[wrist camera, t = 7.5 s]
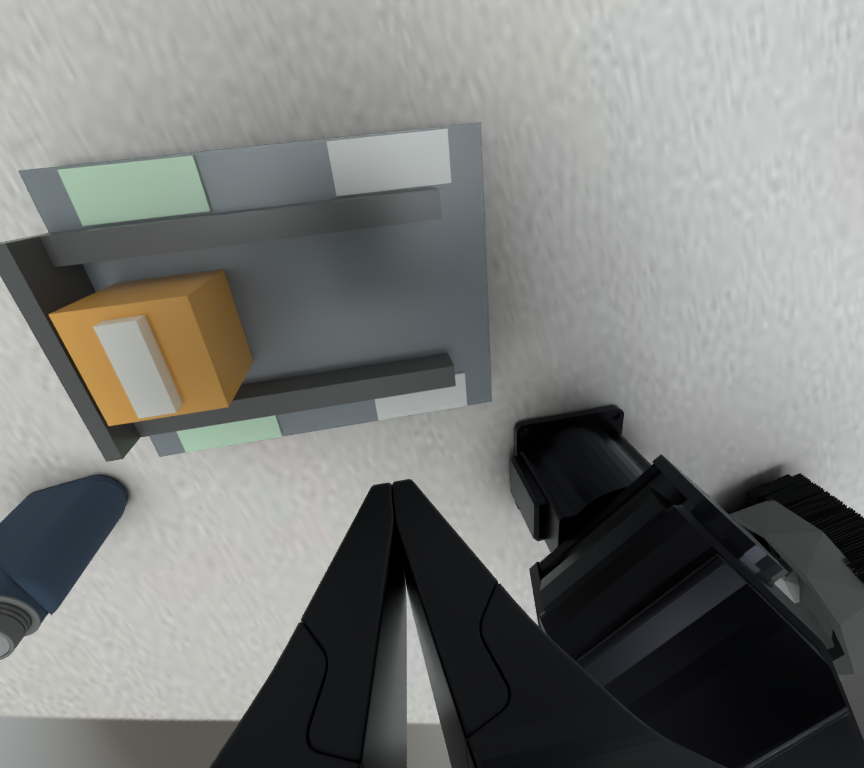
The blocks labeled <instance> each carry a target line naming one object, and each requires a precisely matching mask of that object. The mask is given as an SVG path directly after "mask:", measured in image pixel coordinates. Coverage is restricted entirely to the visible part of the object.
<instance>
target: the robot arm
mask: <svg viewBox="0 0 864 768" xmlns="http://www.w3.org/2000/svg"><path fill="white" fill-rule="evenodd" d="M614 413H616V414H615V415H614V416H612V415H613V414H614ZM623 419H624V412H623V411H622V410H621V409H620V408H619V407H618V406H609V407H603V408H597V409H591V410H585V411H580V412H574V413H568V414H562V415H556V416H551V417H545V418H539V419H533V420H527V421H522V422H519V423H518V424H517V425H516V426H515V429H514V448H515V456H512V458H511V459H510V484H511V493H512V495H513V497H514V499H515V503H516V505H517V508H518V509H519V510H520V511H521V514H522V516H523V518H524V520H525V522H526V524H527V526H528V528H529V530H530V533H531V535H532V537H533V538H534V539H535V540H537V541H541V540H545V542H546V544H547V546H548V548H549V550H550V552H551V553H550V554H549V555H548V556H546V557H545V558H544V559H543V560H542V561H541V562H540V563H539V562H536V563H535V564H534V565H533V566H532V567H531V568H530V576H531V582H532V588H533V594H534V601H535V607H536V613H537V619H538V625H539V626H538V625H537V624H536V623H535V622H534V621H533V620H532V619H531V618H530V617H529V616H528V615H527V614H526V613H525V611H524V610H523V609H522V608H521V607H520V606H519V605H518V604H517V603H516V602H515V600H514V599H513V598H512V597H511V596H510V595H509V593H508V592H507V591H506V590H505V589H504V588H503V586H502V585H501V584H498V581H497V580H496V578H495V577H494V576H493V575H492V574H491V573H490V571H489V570H488V569H487V568H486V567H485V565H484V564H483V563H482V562H481V561H480V560H479V558H478V557H477V556H476V555H475V554H474V552H473V551H472V550H471V549H470V548H469V547H468V545H467V544H466V543H465V542H464V541H463V539H462V538H461V537H460V536H459V535H458V534H457V532H456V531H455V530H454V529H453V528H452V527H451V525H450V524H449V523H448V522H447V521H446V519H445V518H444V517H443V516H442V515H441V514H440V512H439V511H438V510H437V509H436V508H435V506H434V505H433V504H432V503H431V502H430V501H429V499H428V498H427V497H426V496H425V495H424V493H423V492H422V491H421V490H420V489H419V488H418V486H417V485H416V484H415V483H414V482H413V481H412V480H411V479H407V480H401V481H395V482H394V483H393V484H391V483H383V484H377V485H373V486H372V487H371V489H370V490H369V492H368V494H367V496H366V498H365V500H364V502H363V504H362V505H361V507H360V509H359V511H358V513H357V515H356V517H355V519H354V520H353V522H352V524H351V526H350V528H349V530H348V532H347V534H346V535H345V537H344V539H343V541H342V543H341V545H340V547H339V549H338V551H337V552H336V554H335V556H334V558H333V560H332V562H331V564H330V566H329V567H328V569H327V571H326V573H325V575H324V577H323V579H322V581H321V582H320V584H319V586H318V588H317V590H316V592H315V594H314V596H313V597H312V599H311V601H310V603H309V605H308V607H307V609H306V611H305V612H304V614H303V616H302V618H301V622H300V623H298V625H297V627H296V629H295V631H294V633H293V635H292V636H291V638H290V640H289V642H288V644H287V646H286V647H285V649H284V651H283V653H282V655H281V656H280V658H279V660H278V662H277V663H276V665H275V667H274V669H273V670H272V672H271V674H270V675H269V677H268V679H267V680H266V682H265V683H264V685H263V686H262V688H261V689H260V691H259V693H258V694H257V696H256V697H255V699H254V700H253V702H252V704H251V705H250V707H249V708H248V710H247V711H246V713H245V714H244V716H243V717H242V719H241V720H240V722H239V724H238V725H237V726H236V728H235V729H234V731H233V732H232V734H231V736H230V737H229V738H228V740H227V741H226V743H225V744H224V746H223V747H222V749H221V750H220V752H219V754H218V755H217V757H216V758H215V760H214V761H213V763H212V764H211V766H210V767H209V768H407V626H406V586H407V591H408V596H409V600H410V604H411V608H412V612H413V616H414V620H415V624H416V628H417V632H418V636H419V640H420V644H421V648H422V652H423V656H424V660H425V664H426V668H427V672H428V676H429V680H430V684H431V688H432V692H433V696H434V700H435V704H436V707H437V711H438V715H439V719H440V723H441V727H442V731H443V735H444V739H445V743H446V747H447V751H448V755H449V759H450V763H451V767H452V768H864V739H863V738H862V735H861V733H860V730H859V728H858V725H857V722H856V720H855V717H854V715H853V712H852V710H851V707H850V704H849V702H848V700H847V697H846V694H845V692H844V690H843V687H842V684H841V682H840V679H839V676H838V674H837V671H836V669H835V666H834V664H833V661H832V659H831V656H830V654H829V652H828V650H827V648H826V646H825V644H824V642H823V641H822V639H821V637H820V635H819V633H818V631H817V630H816V628H815V626H814V624H813V622H812V621H811V620H810V618H809V617H808V616H807V615H806V614H805V613H804V612H803V611H802V610H801V609H800V608H799V607H798V606H797V605H796V604H795V603H794V602H793V601H792V600H791V599H790V598H789V597H788V596H787V595H785V594H784V593H783V592H782V591H781V590H780V589H779V588H778V587H777V586H776V585H775V584H774V583H775V582H776V581H777V580H779V579H780V578H781V577H783V576H784V575H786V574H787V573H789V572H788V571H787V570H786V569H785V568H784V567H783V566H782V565H781V564H780V563H779V562H778V561H777V560H776V559H775V558H774V557H773V556H772V555H771V554H770V553H769V552H768V551H767V550H766V549H765V548H764V547H763V546H762V545H761V544H760V543H759V542H758V541H757V540H756V539H755V538H754V537H753V536H752V535H751V534H750V533H749V532H748V531H747V530H746V529H745V528H743V527H742V526H741V525H740V524H739V523H738V522H737V521H736V520H735V519H734V518H733V517H731V516H730V515H729V514H728V513H727V512H726V511H725V510H724V509H723V508H722V507H721V506H719V505H718V504H717V503H716V502H715V501H714V500H713V499H712V498H711V497H710V496H709V495H707V494H706V493H705V492H704V491H703V490H702V489H701V488H699V487H698V486H697V485H696V484H695V483H694V482H692V481H691V480H690V479H689V478H688V477H687V476H686V475H684V474H683V473H682V472H681V471H680V470H679V469H678V468H676V467H675V466H674V465H673V464H672V463H671V462H670V461H668V460H667V459H666V458H665V457H664V456H663V455H662V454H661V455H660V456H658V457H657V458H656V459H655V460H654V461H653V463H654V464H653V465H651V464H650V463H649V462H648V461H647V460H646V459H645V458H644V457H643V456H642V455H641V454H640V453H639V452H638V451H637V450H636V449H635V448H634V447H633V446H632V445H631V444H630V443H629V442H628V441H627V440H626V439H625V438H624V437H623V436H622V435H621V434H622V426H623ZM523 429H526V431H525V432H521V431H522V430H523ZM405 580H406V583H405Z"/></svg>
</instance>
